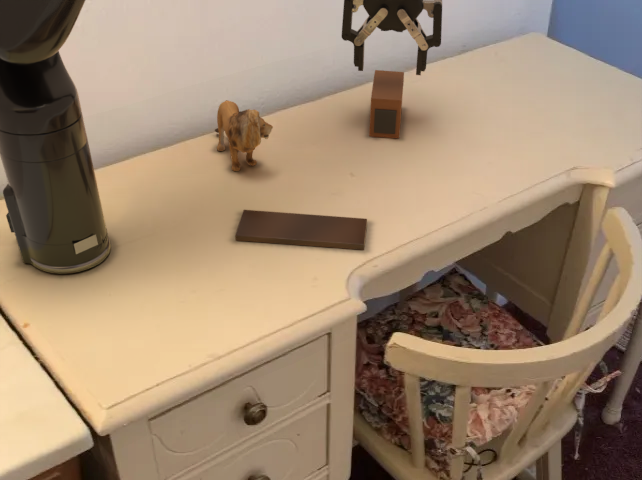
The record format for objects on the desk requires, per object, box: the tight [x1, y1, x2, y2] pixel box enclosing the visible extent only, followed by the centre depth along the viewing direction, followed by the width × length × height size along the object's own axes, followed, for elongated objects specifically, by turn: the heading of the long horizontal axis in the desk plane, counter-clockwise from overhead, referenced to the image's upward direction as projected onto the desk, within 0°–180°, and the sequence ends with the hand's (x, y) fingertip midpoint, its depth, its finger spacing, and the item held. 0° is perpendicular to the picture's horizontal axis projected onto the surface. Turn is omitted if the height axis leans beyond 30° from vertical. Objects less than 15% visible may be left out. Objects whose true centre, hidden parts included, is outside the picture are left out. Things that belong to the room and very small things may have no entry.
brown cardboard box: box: [368, 69, 405, 139], centre depth 127 cm, size 4×10×6 cm, turn 177°
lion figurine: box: [214, 100, 274, 172], centre depth 116 cm, size 15×5×9 cm, turn 33°
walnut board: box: [234, 209, 368, 251], centre depth 105 cm, size 16×6×1 cm, turn 87°
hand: (389, 71), depth 123 cm, fingers open, 8 cm apart
